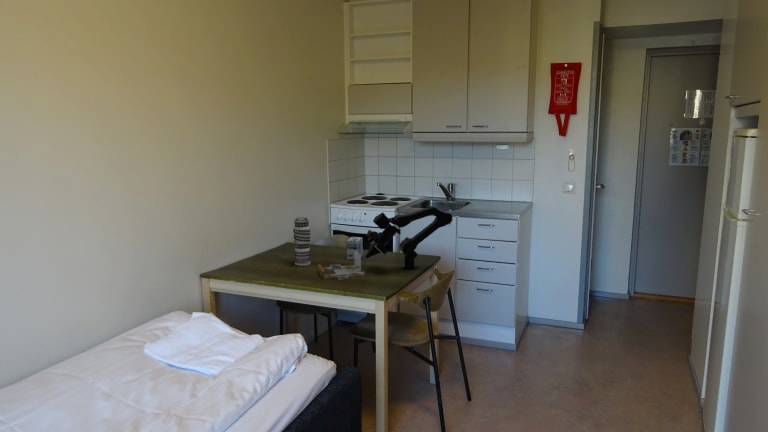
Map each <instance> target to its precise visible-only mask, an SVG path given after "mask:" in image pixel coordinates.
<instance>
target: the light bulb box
mask: <svg viewBox="0 0 768 432" xmlns="http://www.w3.org/2000/svg"><path fill="white" fill-rule="evenodd" d="M363 243H364V242H363V237H362V236H361V237H359V236H351V237H350V238H348V239H347V240H346V253H347V254H346V256H347V257H346V259H347V260H355V251H357V252H358V253H359V254H360V255H361V258H362V257H363V256H364V255H363V254H364V253H363V252H364V251H363V250H364V249H363Z"/></svg>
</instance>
